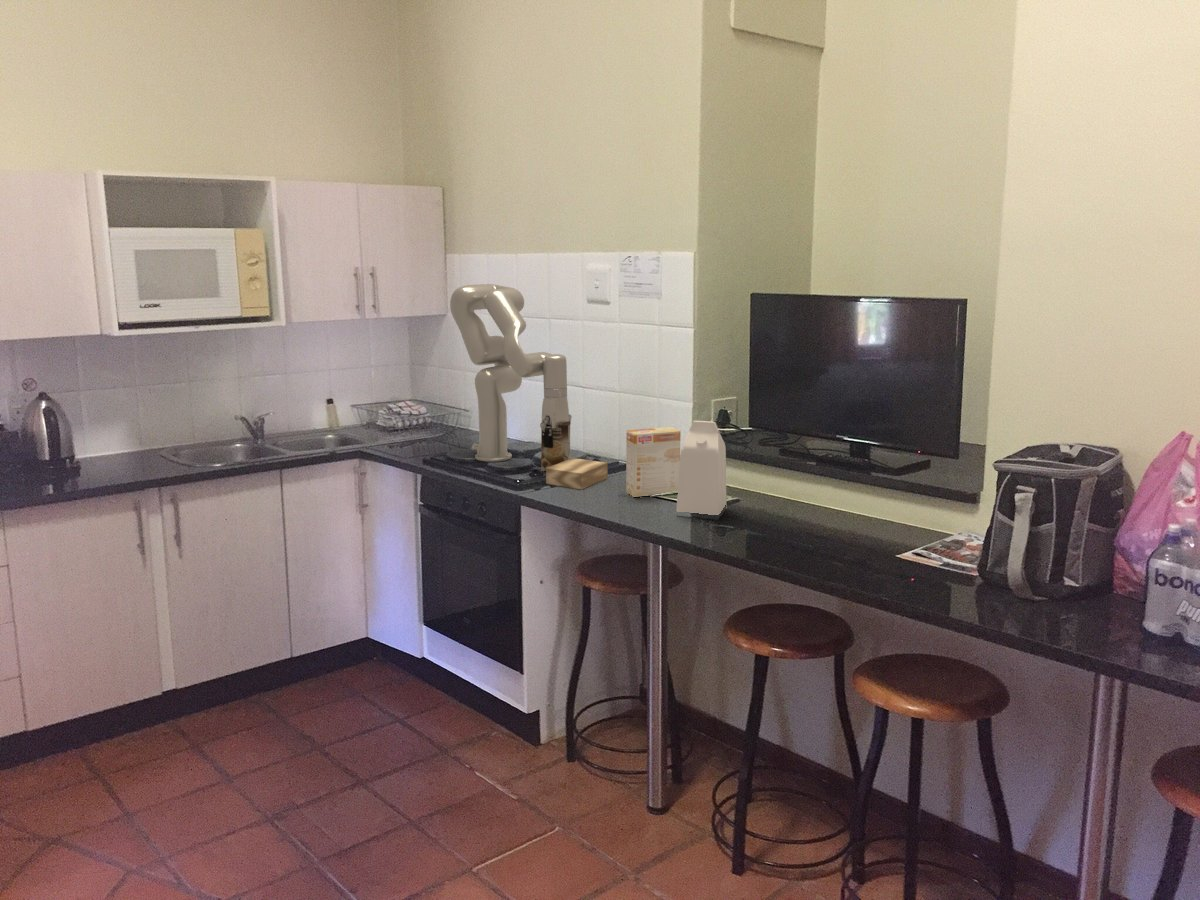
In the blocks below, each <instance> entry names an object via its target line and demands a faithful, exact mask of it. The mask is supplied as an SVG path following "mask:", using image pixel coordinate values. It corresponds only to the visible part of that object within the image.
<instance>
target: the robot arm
mask: <svg viewBox="0 0 1200 900" xmlns="http://www.w3.org/2000/svg"><path fill="white" fill-rule="evenodd" d="M449 304H450V305H449V307H450V312H451V315H452V319H454V320H453V321H454V322H455V324H456V325H457V327H458V330H459V331H460V332H459V333H460V334H461V338H462V341H463V344H464V346H465V348H466V352H467V354H468V356H469V359H470V361H471V362H472V364H474V365H476V366H488V365H494V366H489V367H485V368H482V369H480V370H479V371H478V372H477V373H476V375H475V378H474V385H475V391H476V397H477V403H478V404H477V406H478V407H477V408H478V435H479V436H478V438H479V439H478V440H479V442H478V443H473V444H472V446H471V451H476V454H475V455H474V457H475V459H476V460H477V461H480V462H486V463H488V462H492V463H493V462H495V463H496V462H497V463H498V462H505V461H508V460H511V459H512V457H513V456H512V455H513V454H512V453H511V452H509V451H508V428H507V427H508V426H507V425H508V423H507V422H508V419H507V418H508V417H507V405H506V402H505V400H504V398H503V395H502V394H506V393H512V392H515V391H517V390H518V389H519V388H520V387H521V385H522V382H523V380H522V379H523V378H527V379H528V378H533V377H539V376H542V377H543V400H542V407H541V422H540V425H539V426H540V429H541V430H540V431H542V433H543V435H544V447H545V448H553V436H551V435H552V433H553V430H554V429H557V428H558V425H560V424H562V423H566V422H570V425H571V421H572V418H573V417H572V415H571V414H570V412H569V411H570V409H569V401H568V400H569V399H568V383H567V382H568V377H567V376H568V374H567V373H568V371H567V367H568V366H567V357H566V355H564V354H560V353H558V354H557V353H553V354H552V353H549V352H546V351H540V352H531V353H525V352H524V349H523V348H522V347H521V345H520V343H519V336H520V335H522V333H523V332H524V331H525V330H526V328H527V322H526V321H525V319H524V318H523V316H522V314H521V313H520V312H521V311H522V310H523V309H524V307H525V299H524V296H523V294H522V293H521V291H519V290H518V289H516V288H514V287H510V286H505V285H504V286H503V285H498V284H495V283H494V284H493V283H483V284H480V283H479V284H467V285H462V286H459V287H457V288H456V289H455V290H454V291H453V292H452V293H451V297H450V301H449ZM479 310H480V311H481V310H487V312H488V314H489V315H490V317H491V318H492V320H493V321H494V323H495V324H496V327H497V328H498V329H499V331H500V333H501V334H502V336H501V335H489V334H488V332H487V329H486V325H485V324H484V322H483V320H482V319H481V318H480V316H478V314H477V313H475V311H479ZM548 425H551V426H548ZM548 429H550V431H548Z"/></svg>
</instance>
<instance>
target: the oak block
mask: <svg viewBox="0 0 1200 900" xmlns="http://www.w3.org/2000/svg"><path fill="white" fill-rule="evenodd" d="M608 473H609V472H608V462H606V461H596V460H590V459H582V458H575V457H572V458H571V457H570V459H569V460H566V461H564V462H561V463H558V464H556V465H553V466H551V467H548V468H546V472H545V484H546V485H552V486H557V487H563V488H569V489H577V490H583V489H586V488H588V487H590V486H592V485H595V484H598V483H600V482H602V481H604V480H606V479H608Z"/></svg>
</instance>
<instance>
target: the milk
mask: <svg viewBox="0 0 1200 900" xmlns="http://www.w3.org/2000/svg"><path fill="white" fill-rule="evenodd" d="M681 446H682V447H681V448H680V468H679V481H678V494H676V495H677V498H676V508H675V509H676V511H677V512H690V513H699V514H708V515H719V514H720V513H721V511H722V510H723V508H724V507H725V505H726V506H727V463H726V462H727V458H726V457H727V453H726V451H727V450H726V448H727V447H726V443H725V441H724V439H723V437H722V435H721V432H719V429H718V426H717V423H716V421H707V420H693V421H692V423H691V425H690V427H689V430H688V432H687V434H686V436H685V440H684V442H683V444H682V445H681ZM676 511H675V512H676Z"/></svg>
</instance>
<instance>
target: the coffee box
mask: <svg viewBox="0 0 1200 900" xmlns="http://www.w3.org/2000/svg"><path fill="white" fill-rule="evenodd" d="M570 422H571V421H570ZM570 422H566V423H562V424H560V425H558V428H557V429H554V430H553V433H552V435H551V436H553V448H545V447H544V435H543V433H542V431H541V430H540V431H541V439H540V440H541V441H540V443H541V449H540V450H541V451H540V453H541V455H540V456H541V459H540V460H541V462H540V463H541V469H540V472H541V471H546V468H548V467H551V466H553V465H556V464H558V463H561V462H564V461H566V460H569V459H571V424H570ZM548 426H551V425H548ZM548 431H550V429H548Z"/></svg>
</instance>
